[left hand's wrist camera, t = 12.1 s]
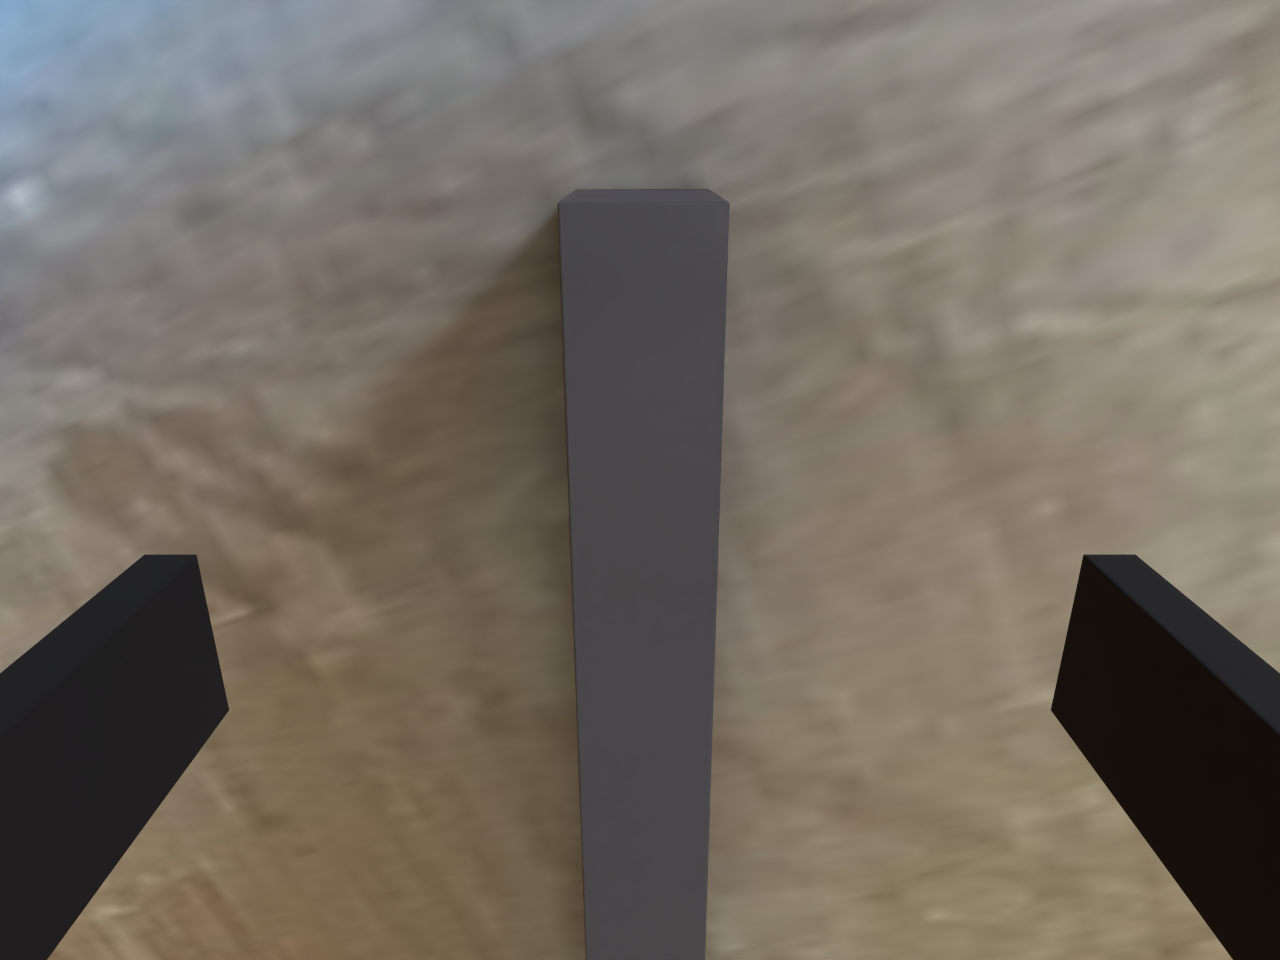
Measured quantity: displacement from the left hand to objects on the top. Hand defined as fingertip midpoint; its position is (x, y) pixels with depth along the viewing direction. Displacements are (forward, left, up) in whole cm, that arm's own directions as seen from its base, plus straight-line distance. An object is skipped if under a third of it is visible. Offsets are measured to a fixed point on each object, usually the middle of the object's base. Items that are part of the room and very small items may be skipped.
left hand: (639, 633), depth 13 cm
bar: (+32, 0, -22) cm, 39 cm away
